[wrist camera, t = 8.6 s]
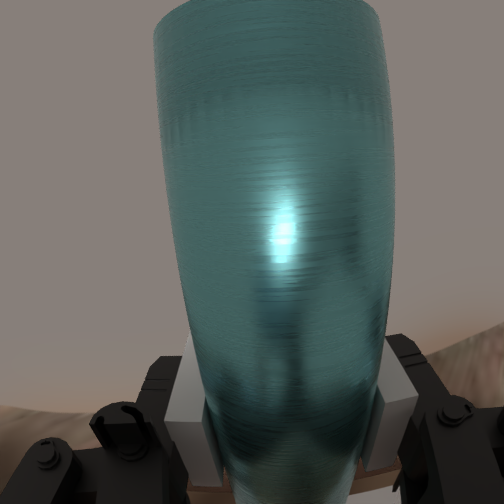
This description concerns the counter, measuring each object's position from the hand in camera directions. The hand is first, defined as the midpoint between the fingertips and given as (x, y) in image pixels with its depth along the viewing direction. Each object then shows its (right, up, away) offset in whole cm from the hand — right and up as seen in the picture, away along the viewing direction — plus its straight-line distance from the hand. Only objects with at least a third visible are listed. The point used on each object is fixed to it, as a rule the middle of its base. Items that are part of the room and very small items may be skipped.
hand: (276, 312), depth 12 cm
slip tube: (+2, -12, -1) cm, 13 cm away
